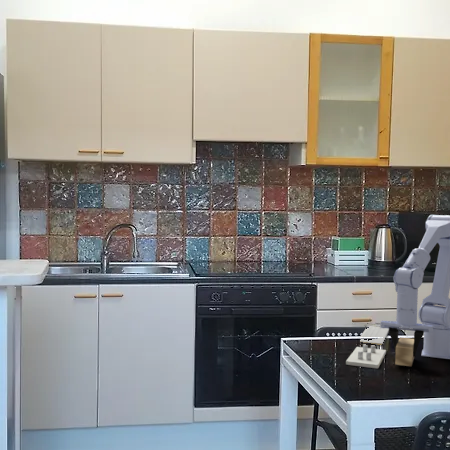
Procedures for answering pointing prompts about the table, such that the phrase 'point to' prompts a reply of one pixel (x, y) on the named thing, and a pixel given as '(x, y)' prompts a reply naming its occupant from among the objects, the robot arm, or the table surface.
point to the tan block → (404, 352)
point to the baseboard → (375, 334)
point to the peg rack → (366, 357)
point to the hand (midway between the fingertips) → (405, 354)
